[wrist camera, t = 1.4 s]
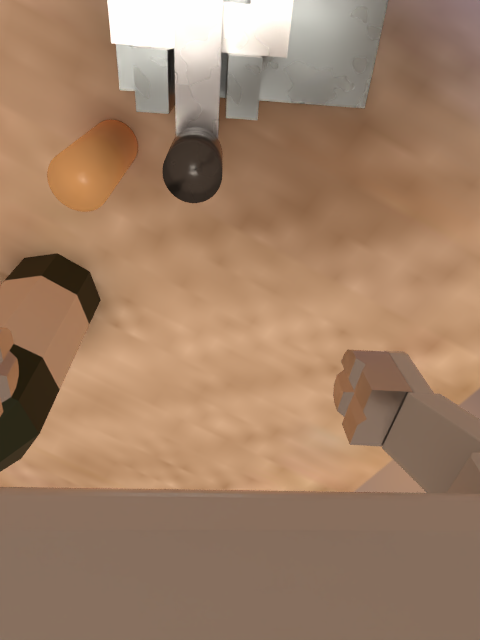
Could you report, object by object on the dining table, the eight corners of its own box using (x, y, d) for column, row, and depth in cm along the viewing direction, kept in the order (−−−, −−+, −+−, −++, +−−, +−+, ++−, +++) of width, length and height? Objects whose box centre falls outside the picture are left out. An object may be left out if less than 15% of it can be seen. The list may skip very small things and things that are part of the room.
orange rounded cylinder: (136, 121, 32) (105, 152, 24) (139, 168, 34) (112, 213, 26) (88, 117, 32) (41, 148, 24) (94, 166, 34) (53, 210, 26)
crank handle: (235, -140, 19) (239, -203, 14) (221, 170, 27) (220, 204, 22) (169, -147, 19) (148, -214, 14) (175, 167, 27) (163, 201, 22)
